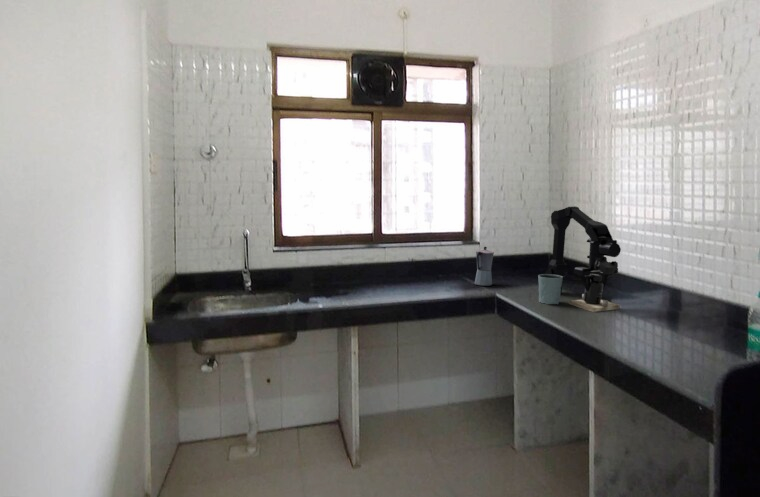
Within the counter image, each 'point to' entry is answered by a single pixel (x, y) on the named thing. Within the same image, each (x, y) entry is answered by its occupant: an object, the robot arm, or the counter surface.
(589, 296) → the supplement bottle
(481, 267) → the moka pot
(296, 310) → the counter surface
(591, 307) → the locating pad
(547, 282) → the teal tapered cup
